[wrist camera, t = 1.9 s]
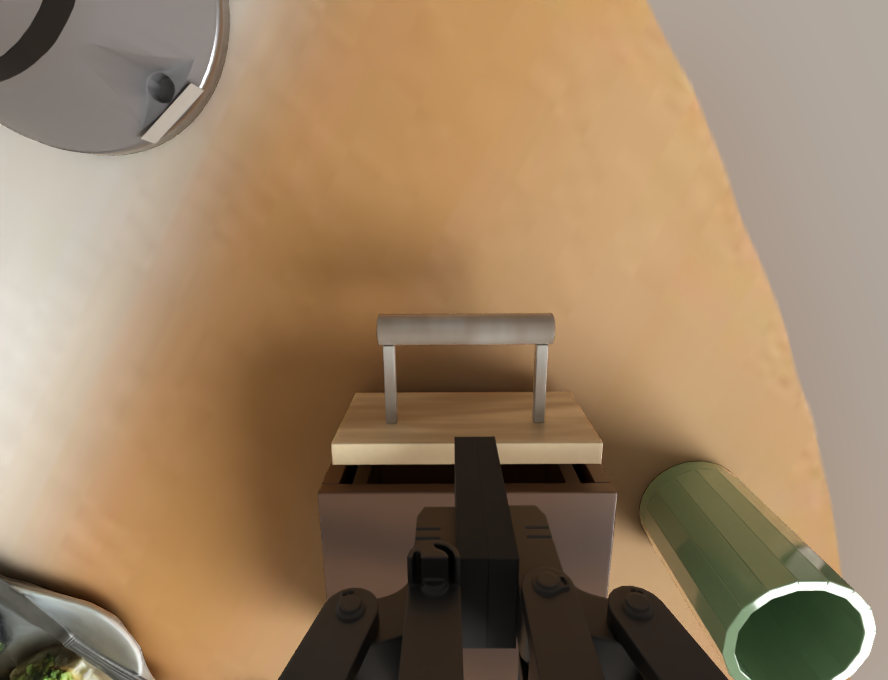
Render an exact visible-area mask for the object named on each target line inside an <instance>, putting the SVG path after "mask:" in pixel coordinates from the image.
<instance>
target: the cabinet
mask: <svg viewBox="0 0 888 680" xmlns="http://www.w3.org/2000/svg"><path fill="white" fill-rule="evenodd" d="M572 466H573V468H574V470H575V472H576V474H577V476H578V478H579V480H580V483H504V485H505V490H506V494H507V499H508V504H509V505H536V506H537V507H538V508H539V509H540V510H541V511H542V512H543V513H544V514H545V515H546V518H547V521H548V524H549V529H550V531H551V534H552V538H553V540H554V544H555V547H556V550H557V553H558V556H559V559H560V563H561V566H562V569H563V572H564V573H565V574H566V575H568V576H569V577H570V578H571V580H572V582H573V583H574V586H575V587H577V588H578V589H580V590H582V591H584V592H587V593H590V594H593V595H597V596H601V597H605V598H607V594H608V584H609V574H610V564H611V554H612V544H613V533H614V523H615V513H616V503H617V491H616V489H615V487H614V486H613V484H612V482H611V480H610V479H609V477H608V475H607V473H606V472H605V470H604V468H603V467H602V465H601V464H572ZM357 468H358V465H333V464H332V462H331V464H330V466H329V469H328V471H327V473H326V475H325V478H324V480H323V482H322V485H321V487H320V490H319V492H318V503H319V515H320V526H321V538H322V549H323V560H324V572H325V583H326V594H327V601H328V599H329V598H330V597H331V596H332V595H334V594H336V593H337V592H339V591H341V590H344V589H348V588H363V589H366V590H368V591H371V592H372V593H373V594H374V595H375V596H376V598H377V599H378V598H382V597H386V596H389V595H391V594H394V593H396V592H398V591H399V590H401V589H402V588H403V587H404V586H405V585H406V584H407V583H408V574H407V556H408V554H409V551H410V550H411V549H412V548H413V547H414V543H415V533H416V523H417V516H418V515H419V514H420V512H421V511H422V510H423V508H424V507H455V484H352V483H353V480H354V477H355V474H356V471H357ZM518 659H519V648H518V642H517V637H516V649H463V673H464V680H518Z"/></svg>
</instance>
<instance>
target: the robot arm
mask: <svg viewBox="0 0 888 680" xmlns="http://www.w3.org/2000/svg"><path fill="white" fill-rule="evenodd" d="M229 27H230V14H229V0H0V123H1V124H2V125H4V126H6V127H7V128H9V129H11V130H13V131H15V132H17V133H19V134H21V135H23V136H26V137H28V138H30V139H33V140H36V141H38V142H40V143H43V144H46V145H49V146H52V147H55V148H59V149H63V150H67V151H74V152H81V153H88V154H96V155H112V156H113V155H127V154H132V153H138V152H142V151H145V150H148V149H151V148H154V147H156V146H158V145H161V144H163V143H165V142H166V141H168V140H170V139H172V138H173V137H175V136H176V135H177V134H179V133H180V132H182V131H183V130H184V129H185V128H186V127H187V126H188V125H190V124H191V123H192V122H193V121H194V119H195V118H196V117H197V116H198V115H199V114H200V113H201V111H202V110H203V108H204V107H205V106H206V104H207V103H208V101H209V99H210V98H211V96H212V94H213V92H214V90H215V88H216V86H217V83H218V81H219V79H220V76H221V73H222V70H223V66H224V63H225V59H226V54H227V49H228V41H229ZM454 451H455V507H424V508H423V510H422V511H421V512H420V514H419V515H418V516H417V523H416V533H415V543H414V547H413V548H412V549H411V550H410V551H409V554H408V556H407V574H408V583H407V584H406V585H405V586H404V587H403V588H402V589H401V590H399V591H398V592H396V593H394V594H391V595H389V596H386V597H382V598H378V599H377V598H376V596H375V595H374V594H373V593H372V592H371V591H368V590H366V589H363V588H348V589H344V590H341V591H339V592H337V593H336V594H334V595H332V596H331V597H330V598H329V599H328V601H327V602H326V603H325V604H324V606H323V608H322V609H321V611H320V612H319V614H318V616H317V617H316V619H315V620H314V622H313V624H312V625H311V627H310V629H309V630H308V632H307V633H306V635H305V637H304V638H303V640H302V642H301V643H300V645H299V646H298V648H297V650H296V651H295V653H294V655H293V656H292V658H291V659H290V661H289V663H288V664H287V666H286V667H285V669H284V671H283V672H282V674H281V676H280V677H279V679H278V680H464V673H463V649H516V637H517V642H518V648H519V659H518V680H728V679H727V677H726V676H725V675H724V674H723V673H722V672H721V670H720V669H719V668H718V667H717V666H716V665H715V663H714V662H713V661H712V660H711V659H710V657H709V656H708V655H707V654H706V653H705V652H704V650H703V649H702V648H701V647H700V646H699V645H698V643H697V642H696V641H695V640H694V639H693V638H692V636H691V635H690V634H689V633H688V632H687V630H686V629H685V628H684V627H683V626H682V625H681V623H680V622H679V621H678V620H677V619H676V618H675V616H674V615H673V614H672V613H671V612H670V611H669V609H668V608H667V607H666V606H665V605H664V603H663V602H662V601H661V600H660V599H658V598H657V597H656V596H655V595H654V594H652V593H650V592H648V591H646V590H645V589H642V588H638V587H634V586H621V587H618V588H616V589H614V590H613V591H612V592H611V593H610V594H609V598H605V597H601V596H597V595H593V594H590V593H587V592H584V591H582V590H580V589H578V588H577V587H575V586H574V583H573V582H572V580H571V578H570V577H569V576H568V575H566V574H565V573H564V572H563V569H562V566H561V563H560V559H559V556H558V553H557V550H556V547H555V544H554V540H553V538H552V534H551V531H550V529H549V524H548V521H547V518H546V515H545V514H544V513H543V512H542V511H541V510H540V509H539V508H538V507H537V506H536V505H509V504H508V499H507V494H506V490H505V485H504V480H503V475H502V470H501V465H500V460H499V455H498V450H497V445H496V440H495V436H491V437H454Z"/></svg>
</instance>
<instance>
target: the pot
mask: <svg viewBox="0 0 888 680" xmlns="http://www.w3.org/2000/svg"><path fill="white" fill-rule="evenodd" d="M639 514H640V521H641V524H642V527H643V529H644V531H645V533H646V534H647V536H648V538H649V540H650V543H651V544H652V546H653V548H654V549H655V551H656V553H657V554H658V556H659V558H660V559H661V561H662V563H663V564H664V566H665V568H666V569H667V571H668V573H669V575H670V576H671V578H672V580H673V581H674V583H675V585H676V586H677V588H678V590H679V591H680V593H681V595H682V596H683V598H684V600H685V601H686V603H687V605H688V606H689V608H690V610H691V611H692V613H693V615H694V616H695V618H696V620H697V621H698V623H699V625H700V627H701V628H702V630H703V632H704V633H705V635H706V637H707V638H708V640H709V642H710V643H711V645H712V647H713V648H714V650H715V652H716V653H717V655H718V657H719V658H720V660H721V662H722V663H723V665H724V667H725V668H726V670H727V672H728V674H729V675H730V676H731V677H732V678H733V679H735V680H846V679H847V678H849V677H850V676H852V674H854V673H855V672H856V670H857V669H858V668H859V667H860V666H861V664H862V663H863V662H864V661H865V659H866V658H867V657H868V656H869V653H870V651H871V648H872V644H873V641H874V637H875V634H876V626H875V622H874V618H873V613H872V609H871V607H870V606H869V605H868V604H867V602H865V600H864V599H863V598H862V597H861V596H860V595H859V594H858V593H857V592H856V591H855V590H854V589H853V588H852V587H851V586H850V585H849V584H847V582H846V581H845V580H843V579H842V578H841V577H840V576H839V575H838V574H837V573H836V572H835V571H834V570H833V569H832V568H831V567H830V566H829V565H828V564H827V563H826V562H825V561H824V560H823V559H821V558H820V557H819V556H818V555H817V554H816V553H815V552H814V551H813V550H812V549H811V548H810V547H809V546H808V545H807V544H806V543H805V542H804V541H803V540H802V539H801V538H799V537H798V536H797V535H796V534H795V533H794V532H793V531H792V530H791V529H790V528H789V527H788V526H787V525H786V524H785V523H784V522H783V521H782V520H781V519H780V518H779V517H777V516H776V515H775V514H774V513H773V512H772V511H771V510H770V509H769V508H768V507H767V506H766V505H765V504H764V503H763V502H762V501H761V500H760V499H759V498H758V497H757V496H755V495H754V494H753V493H752V492H751V491H750V490H749V489H748V488H747V487H746V486H745V485H744V484H743V483H742V482H741V481H740V480H739V479H738V478H737V477H735V476H734V475H733V474H732V473H731V472H730V471H728V470H727V469H725V468H723V467H721V466H719V465H717V464H713V463H709V462H701V461H696V462H687V463H682V464H679V465H676V466H674V467H671V468H669V469H667V470H666V471H664V472H663V473H661V474H660V475H658V476H657V477H656V478H655V479H654V480H653V481H652V482H651V483H650V485H649V486H648V487H647V489H646V490H645V492H644V494H643V497H642V500H641V503H640V512H639Z"/></svg>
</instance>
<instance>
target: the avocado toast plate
mask: <svg viewBox="0 0 888 680" xmlns="http://www.w3.org/2000/svg"><path fill="white" fill-rule="evenodd" d="M0 680H155V678H154V677H153V676H152V674H151V673H150V671H149V669H148V667H147V665H146V662H145V660H144V657H143V654H142V650H141V647H140V646H139V644H138V643H137V641H136V640H135V639H134V637H133V636H132V635H131V634H130V632H129V631H128V630H127V629H126V627H125V626H124V625H123V623H122V622H121V620H120V619H119V618H118V617H117V616H115V615H114V614H112V613H110V612H108V611H107V610H105V609H103V608H101V607H99V606H97V605H95V604H93V603H91V602H88V601H85V600H81V599H77V598H74V597H70V596H67V595H63V594H60V593H56V592H53V591H50V590H47V589H44V588H42V587H39V586H37V585H35V584H32V583H30V582H27V581H23V580H18V579H14V578H9V577H5V576H3V575H1V574H0Z"/></svg>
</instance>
